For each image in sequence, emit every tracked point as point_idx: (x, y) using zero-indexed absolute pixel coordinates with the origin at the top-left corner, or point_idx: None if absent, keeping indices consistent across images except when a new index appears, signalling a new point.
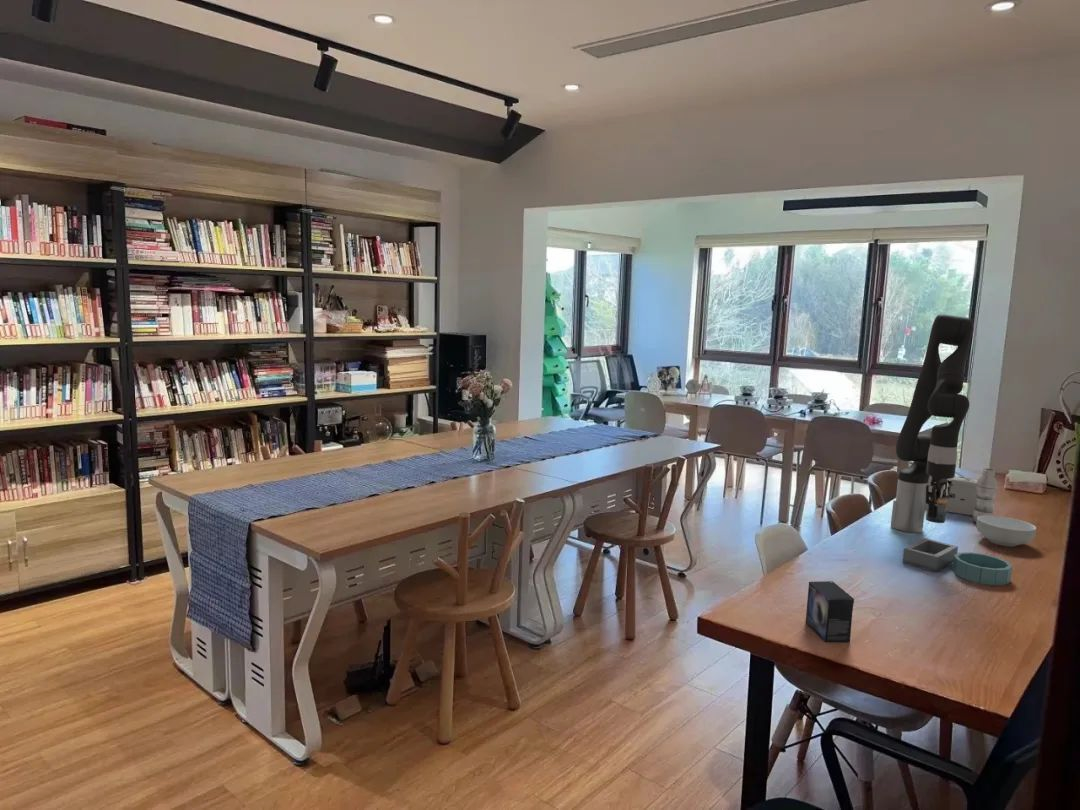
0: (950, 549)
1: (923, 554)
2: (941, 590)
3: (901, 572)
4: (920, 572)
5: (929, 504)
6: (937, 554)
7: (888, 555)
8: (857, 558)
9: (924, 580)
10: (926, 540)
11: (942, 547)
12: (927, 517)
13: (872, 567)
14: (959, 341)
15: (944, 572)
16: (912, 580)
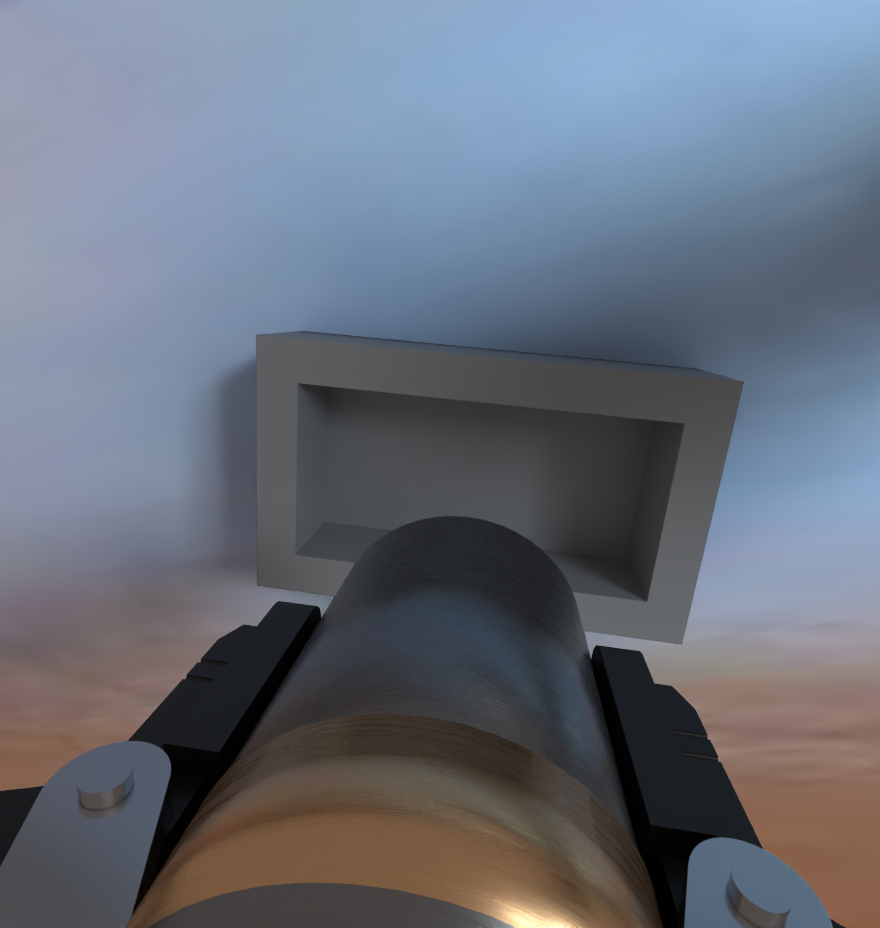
0: None
1: (260, 487)
2: (44, 619)
3: (117, 387)
4: (218, 472)
5: (31, 800)
6: (323, 570)
7: (388, 194)
8: (118, 41)
9: (107, 523)
10: (666, 412)
11: (652, 531)
12: (354, 568)
13: (39, 212)
14: None
15: None
16: (47, 474)
